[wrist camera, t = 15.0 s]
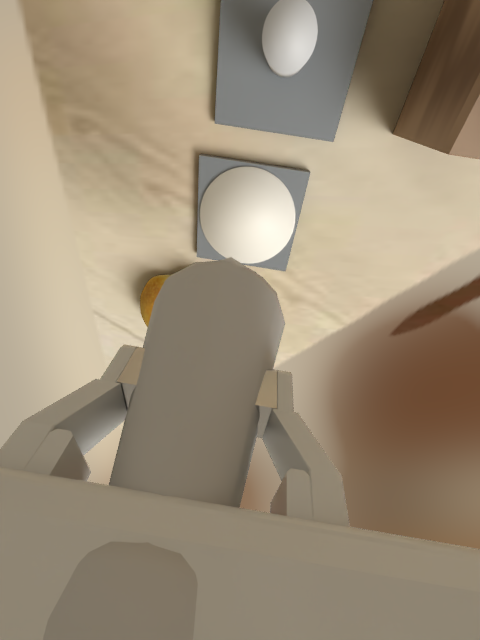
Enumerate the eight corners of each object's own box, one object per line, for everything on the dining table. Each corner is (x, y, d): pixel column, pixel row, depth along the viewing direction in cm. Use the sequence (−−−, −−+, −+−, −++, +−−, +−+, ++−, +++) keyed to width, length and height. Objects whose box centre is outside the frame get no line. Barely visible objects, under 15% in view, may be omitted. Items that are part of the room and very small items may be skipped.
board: (226, -69, 14) (202, -140, 10) (383, -46, 14) (429, -108, 10) (216, 122, 19) (197, 131, 15) (332, 140, 19) (347, 154, 15)
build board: (201, 153, 21) (198, 155, 20) (309, 170, 20) (310, 173, 20) (198, 254, 26) (196, 257, 25) (285, 268, 26) (285, 272, 25)
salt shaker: (161, 315, 16) (-51, 706, 6) (183, 220, 12) (-271, 800, 2) (258, 348, 17) (223, 746, 6) (305, 268, 13) (393, 863, 3)
